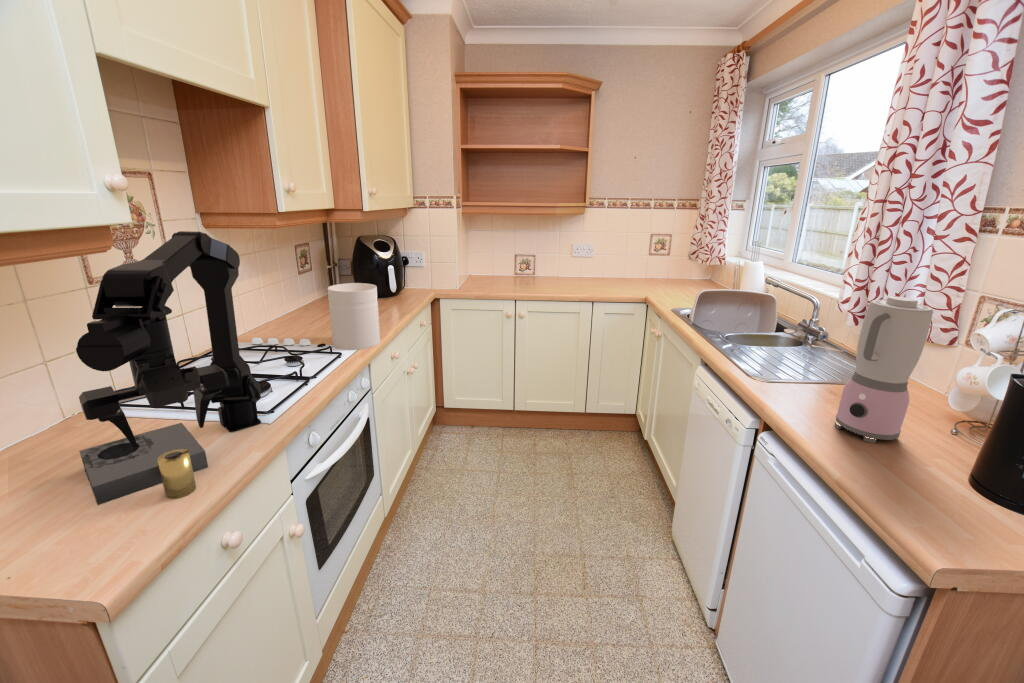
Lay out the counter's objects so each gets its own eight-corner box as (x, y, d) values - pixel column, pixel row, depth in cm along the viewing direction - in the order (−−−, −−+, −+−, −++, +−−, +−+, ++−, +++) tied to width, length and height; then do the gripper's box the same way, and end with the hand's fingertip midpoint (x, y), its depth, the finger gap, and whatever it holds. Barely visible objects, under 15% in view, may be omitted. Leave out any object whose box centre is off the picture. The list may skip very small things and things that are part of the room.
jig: (184, 437, 98) (181, 422, 96) (208, 467, 87) (205, 450, 86) (83, 467, 86) (79, 450, 85) (97, 505, 76) (92, 487, 75)
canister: (322, 346, 158) (316, 289, 152) (351, 334, 173) (347, 281, 167) (362, 352, 153) (357, 293, 147) (388, 339, 168) (385, 285, 162)
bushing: (192, 480, 83) (185, 446, 81) (199, 490, 80) (192, 455, 78) (162, 491, 80) (154, 455, 78) (169, 502, 77) (160, 465, 75)
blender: (851, 415, 116) (885, 291, 107) (908, 437, 106) (951, 302, 97) (814, 428, 109) (847, 296, 100) (872, 452, 99) (914, 308, 90)
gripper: (76, 377, 61) (105, 479, 65) (233, 347, 74) (247, 433, 79) (67, 356, 68) (93, 450, 72) (211, 332, 81) (225, 412, 86)
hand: (169, 436), depth 77 cm, fingers open, 9 cm apart
